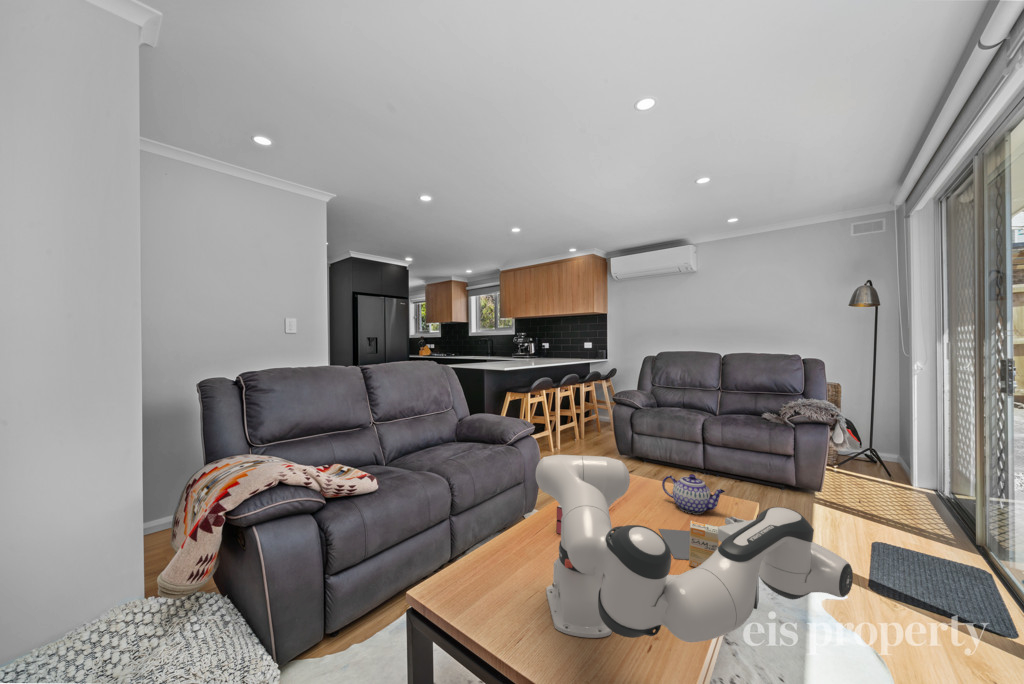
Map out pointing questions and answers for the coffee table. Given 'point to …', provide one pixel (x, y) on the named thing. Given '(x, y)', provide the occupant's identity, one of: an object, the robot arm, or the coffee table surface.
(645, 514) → the coffee table surface
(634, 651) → the coffee table surface
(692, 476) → the teapot
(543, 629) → the coffee table surface
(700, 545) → the supplement box
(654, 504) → the coffee table surface
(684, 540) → the mat
